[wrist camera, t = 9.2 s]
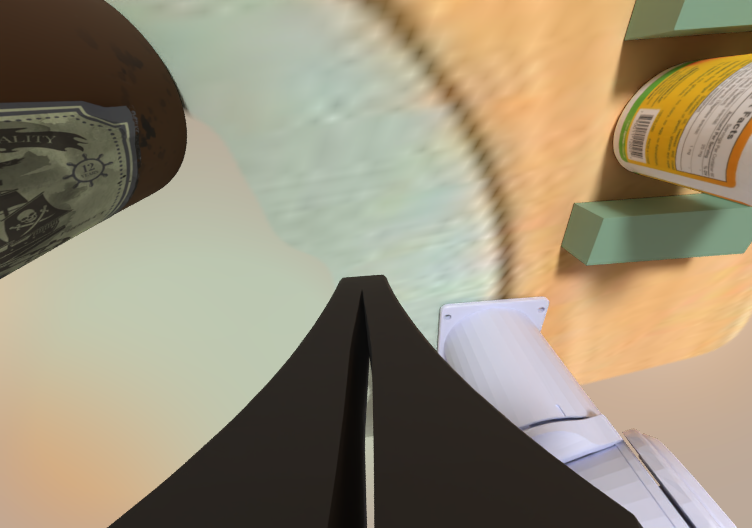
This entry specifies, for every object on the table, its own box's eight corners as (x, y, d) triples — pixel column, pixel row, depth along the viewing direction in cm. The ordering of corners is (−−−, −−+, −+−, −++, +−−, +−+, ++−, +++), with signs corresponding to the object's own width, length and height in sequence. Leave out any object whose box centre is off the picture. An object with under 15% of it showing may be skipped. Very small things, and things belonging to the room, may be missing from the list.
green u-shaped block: (701, 235, 19) (743, 253, 17) (561, 246, 19) (586, 265, 17) (875, -66, 12) (986, -101, 10) (651, -50, 12) (715, -82, 10)
